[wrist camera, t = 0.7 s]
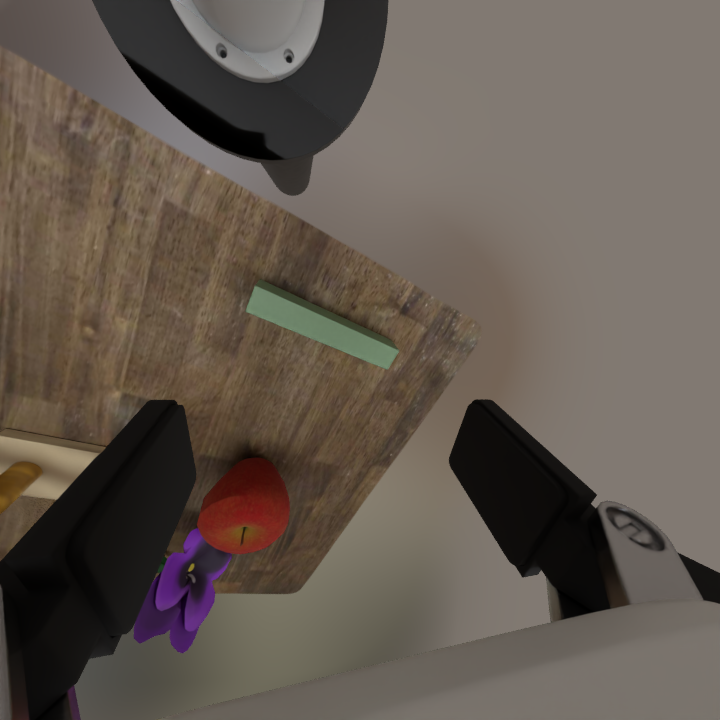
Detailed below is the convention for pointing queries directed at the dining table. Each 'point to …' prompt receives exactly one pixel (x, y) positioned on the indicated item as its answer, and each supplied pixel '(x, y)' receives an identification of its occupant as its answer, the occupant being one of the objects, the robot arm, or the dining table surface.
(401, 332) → the dining table surface
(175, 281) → the dining table surface
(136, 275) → the dining table surface
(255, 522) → the apple
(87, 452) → the rod stand
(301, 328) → the bar
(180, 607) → the flower
